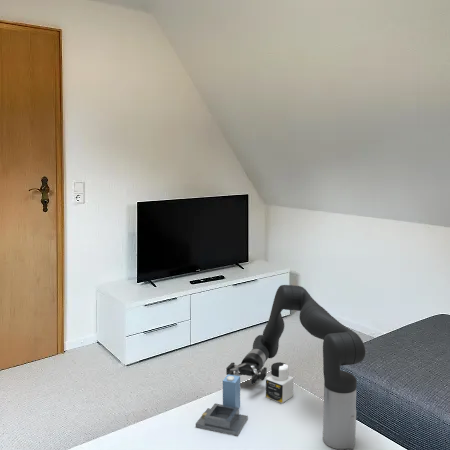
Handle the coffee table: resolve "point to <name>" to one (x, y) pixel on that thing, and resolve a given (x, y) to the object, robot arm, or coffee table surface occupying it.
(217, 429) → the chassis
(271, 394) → the medicine bottle
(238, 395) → the blue tall box
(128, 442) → the coffee table surface
